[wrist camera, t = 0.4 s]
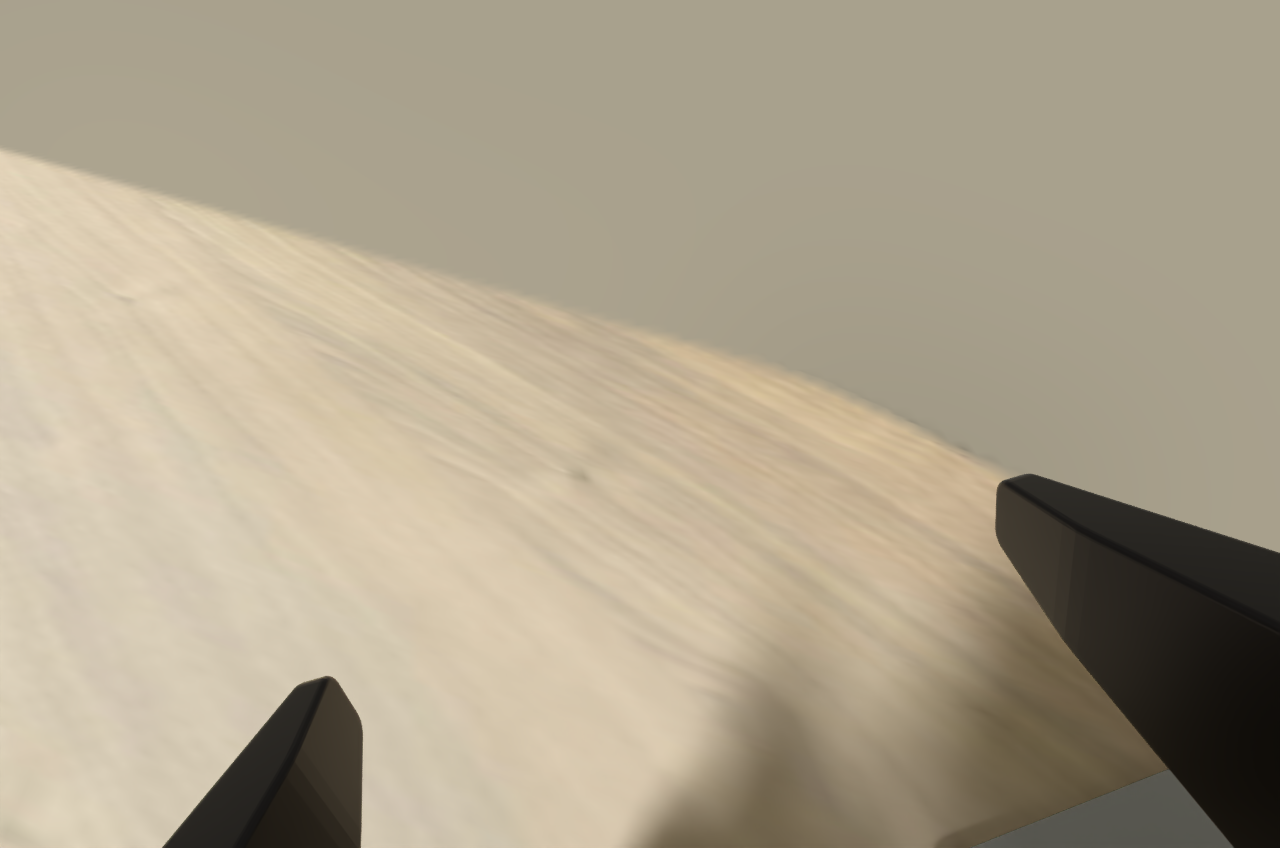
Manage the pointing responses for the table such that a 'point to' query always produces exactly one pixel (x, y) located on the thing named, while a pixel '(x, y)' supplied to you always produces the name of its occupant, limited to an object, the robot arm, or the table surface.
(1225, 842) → the base plate
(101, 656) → the table surface
